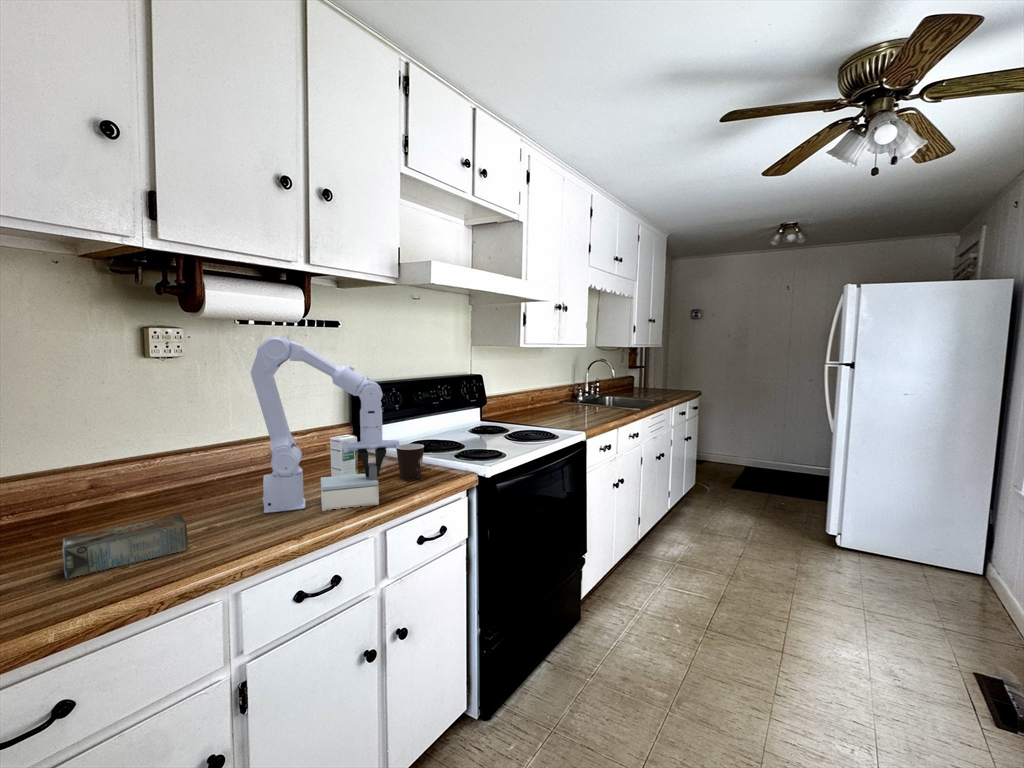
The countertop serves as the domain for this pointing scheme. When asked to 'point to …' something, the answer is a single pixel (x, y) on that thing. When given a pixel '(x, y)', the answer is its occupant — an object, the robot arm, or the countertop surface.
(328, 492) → the carton
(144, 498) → the countertop surface
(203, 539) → the countertop surface
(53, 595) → the countertop surface
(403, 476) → the coffee mug
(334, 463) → the syrup box
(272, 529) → the countertop surface
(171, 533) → the beverage carton
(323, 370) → the robot arm
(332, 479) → the carton lid
